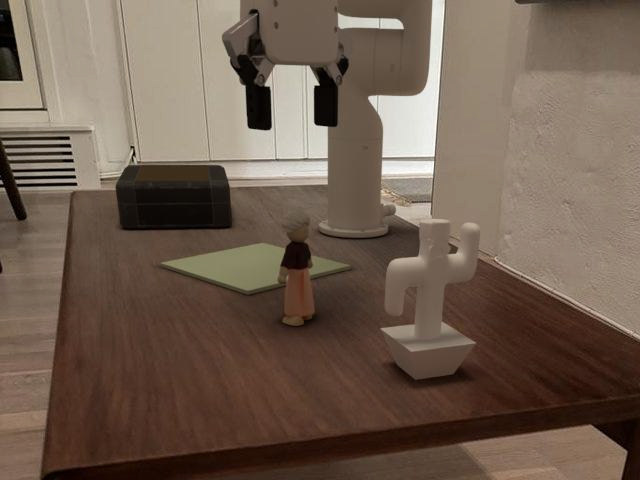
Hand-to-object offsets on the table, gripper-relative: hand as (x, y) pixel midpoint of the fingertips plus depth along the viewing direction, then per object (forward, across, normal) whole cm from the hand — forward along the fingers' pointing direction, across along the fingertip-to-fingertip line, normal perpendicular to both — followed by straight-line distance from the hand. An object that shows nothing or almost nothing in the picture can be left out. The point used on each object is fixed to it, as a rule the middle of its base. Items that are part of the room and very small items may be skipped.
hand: (293, 127), depth 80 cm
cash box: (+21, -26, -62) cm, 70 cm away
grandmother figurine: (+21, 0, 0) cm, 21 cm away
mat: (+21, -12, -22) cm, 32 cm away
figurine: (+22, +2, +21) cm, 30 cm away
